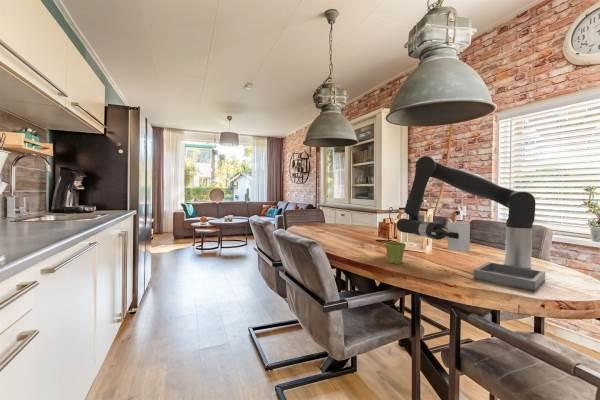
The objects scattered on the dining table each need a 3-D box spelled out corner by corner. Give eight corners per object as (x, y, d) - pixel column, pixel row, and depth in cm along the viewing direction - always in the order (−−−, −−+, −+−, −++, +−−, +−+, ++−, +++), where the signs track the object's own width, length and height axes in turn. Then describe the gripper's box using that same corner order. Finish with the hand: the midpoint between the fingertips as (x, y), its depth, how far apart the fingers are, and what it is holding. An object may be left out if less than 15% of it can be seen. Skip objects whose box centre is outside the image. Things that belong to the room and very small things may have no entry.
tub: (457, 247, 120) (458, 221, 119) (469, 250, 114) (470, 223, 114) (447, 248, 118) (447, 222, 117) (459, 251, 113) (459, 223, 112)
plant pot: (391, 265, 124) (392, 246, 124) (380, 260, 133) (380, 242, 133) (410, 264, 127) (410, 245, 126) (397, 259, 136) (397, 241, 136)
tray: (488, 270, 118) (488, 262, 118) (544, 281, 105) (545, 271, 105) (473, 278, 107) (473, 269, 106) (534, 292, 93) (535, 281, 93)
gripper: (419, 222, 127) (450, 227, 111) (444, 221, 132) (477, 225, 116) (418, 239, 127) (450, 246, 111) (443, 237, 132) (477, 243, 116)
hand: (463, 235), depth 114 cm, fingers closed on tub, 5 cm apart
